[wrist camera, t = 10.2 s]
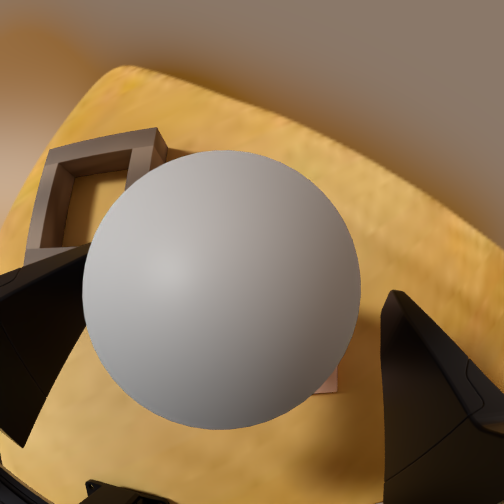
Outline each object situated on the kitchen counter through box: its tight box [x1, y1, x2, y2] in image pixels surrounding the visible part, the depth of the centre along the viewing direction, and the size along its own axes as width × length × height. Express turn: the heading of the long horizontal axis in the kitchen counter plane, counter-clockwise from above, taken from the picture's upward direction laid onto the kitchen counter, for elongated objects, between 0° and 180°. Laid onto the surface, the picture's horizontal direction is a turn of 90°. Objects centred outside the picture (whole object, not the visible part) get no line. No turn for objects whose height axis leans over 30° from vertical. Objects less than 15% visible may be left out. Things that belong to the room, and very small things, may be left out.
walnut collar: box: [24, 127, 168, 266], centre depth 18 cm, size 10×10×2 cm
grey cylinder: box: [82, 150, 361, 430], centre depth 11 cm, size 4×4×13 cm
